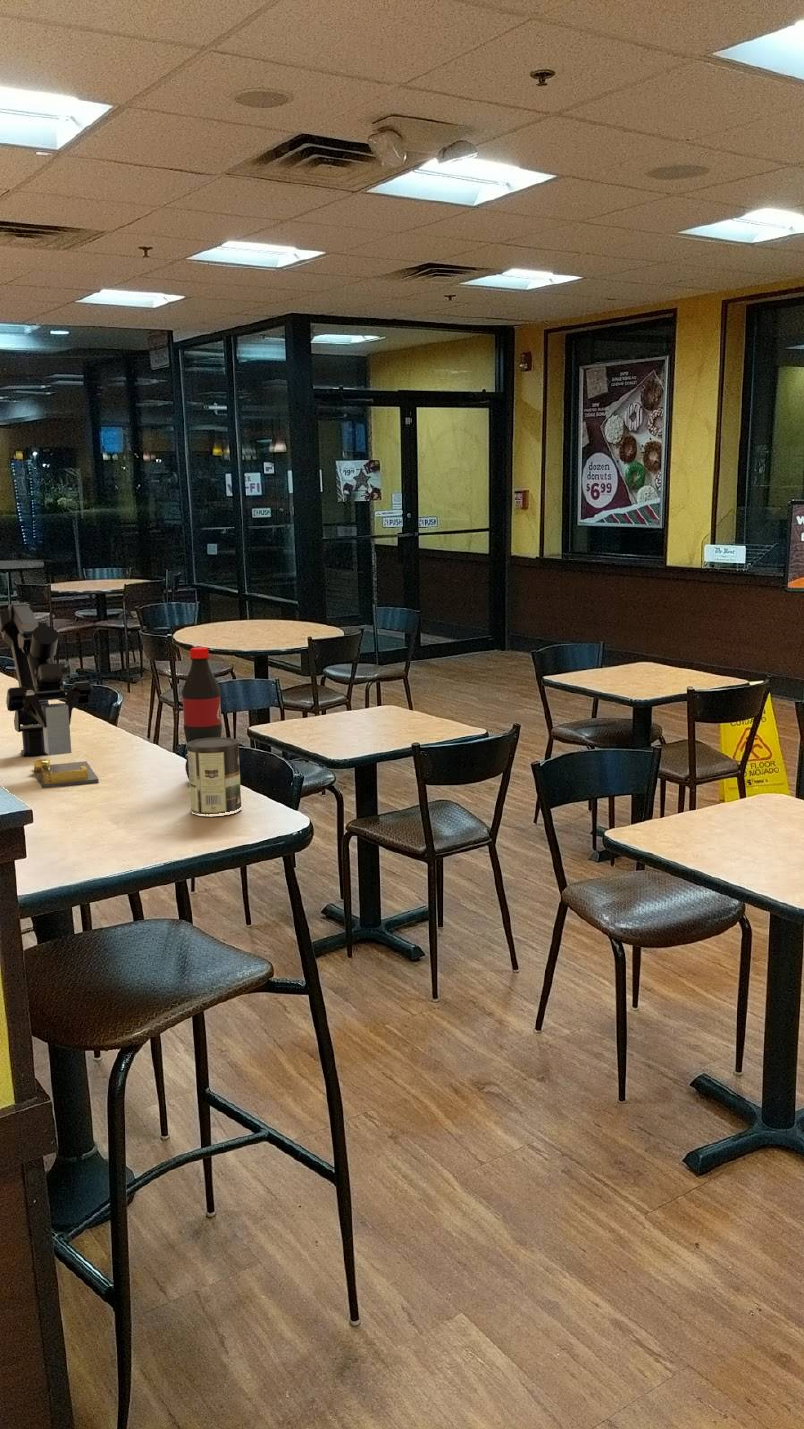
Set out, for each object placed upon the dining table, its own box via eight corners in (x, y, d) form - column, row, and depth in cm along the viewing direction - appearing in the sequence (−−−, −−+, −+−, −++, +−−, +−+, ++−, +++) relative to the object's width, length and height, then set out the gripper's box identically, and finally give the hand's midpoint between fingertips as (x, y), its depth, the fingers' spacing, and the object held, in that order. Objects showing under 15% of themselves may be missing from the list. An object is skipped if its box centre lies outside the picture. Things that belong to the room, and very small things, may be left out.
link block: (44, 752, 250) (41, 705, 248) (67, 749, 252) (63, 703, 250) (49, 755, 246) (45, 707, 244) (71, 753, 248) (68, 705, 246)
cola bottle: (228, 776, 246) (223, 645, 241) (218, 785, 238) (212, 649, 233) (192, 776, 247) (186, 645, 242) (181, 785, 239) (174, 649, 234)
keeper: (32, 769, 256) (31, 758, 255) (86, 764, 260) (85, 753, 260) (40, 788, 237) (40, 776, 237) (98, 782, 242) (97, 770, 242)
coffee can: (231, 801, 225) (228, 734, 222) (249, 813, 216) (246, 743, 213) (182, 808, 220) (179, 740, 217) (199, 820, 211) (196, 749, 208)
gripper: (4, 652, 244) (17, 708, 236) (88, 647, 253) (103, 700, 245) (1, 683, 252) (13, 737, 244) (82, 676, 261) (96, 728, 253)
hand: (57, 725), depth 247 cm, fingers closed on link block, 5 cm apart
